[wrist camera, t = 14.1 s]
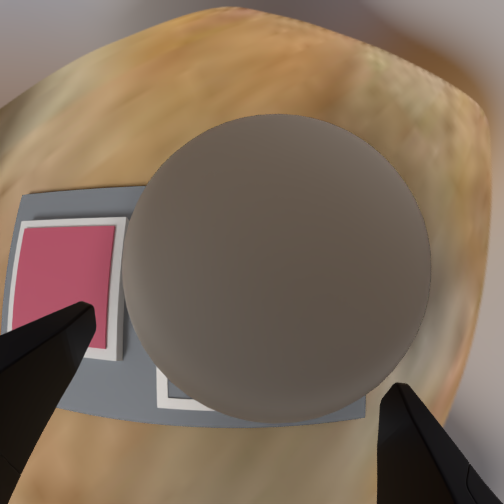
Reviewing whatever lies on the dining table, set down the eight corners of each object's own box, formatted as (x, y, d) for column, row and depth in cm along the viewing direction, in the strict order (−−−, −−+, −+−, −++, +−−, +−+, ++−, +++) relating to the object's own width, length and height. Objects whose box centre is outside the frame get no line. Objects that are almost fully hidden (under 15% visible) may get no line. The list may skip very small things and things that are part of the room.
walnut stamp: (260, 388, 16) (374, 565, 2) (182, 335, 16) (-37, 275, 2) (311, 311, 17) (535, 180, 3) (235, 261, 18) (237, -1, 4)
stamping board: (361, 415, 16) (373, 421, 14) (6, 391, 15) (-9, 393, 13) (347, 192, 20) (356, 179, 18) (26, 198, 19) (13, 187, 17)
